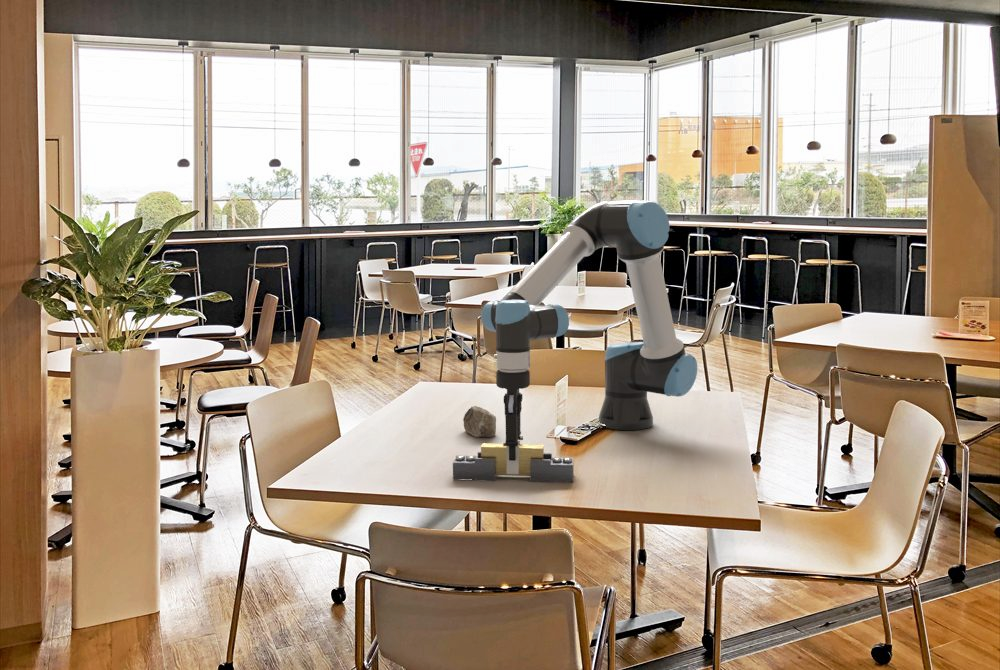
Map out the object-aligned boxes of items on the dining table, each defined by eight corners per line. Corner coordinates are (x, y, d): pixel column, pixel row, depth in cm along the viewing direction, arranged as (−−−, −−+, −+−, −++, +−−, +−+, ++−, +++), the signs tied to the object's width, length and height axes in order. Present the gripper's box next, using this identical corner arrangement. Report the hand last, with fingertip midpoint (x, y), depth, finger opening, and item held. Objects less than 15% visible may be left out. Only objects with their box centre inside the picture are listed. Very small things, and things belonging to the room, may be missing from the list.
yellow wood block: (543, 472, 204) (543, 445, 203) (542, 476, 201) (543, 448, 200) (482, 470, 205) (482, 443, 204) (481, 474, 202) (481, 446, 201)
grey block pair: (573, 474, 205) (573, 453, 204) (572, 482, 199) (573, 460, 198) (457, 472, 207) (456, 451, 207) (453, 479, 202) (452, 458, 201)
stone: (481, 439, 236) (481, 413, 235) (457, 430, 246) (458, 405, 245) (503, 437, 239) (504, 411, 239) (480, 428, 250) (480, 403, 249)
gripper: (500, 363, 208) (500, 460, 211) (492, 375, 192) (493, 481, 195) (532, 363, 207) (532, 461, 210) (527, 376, 191) (527, 482, 195)
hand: (513, 470), depth 203 cm, fingers closed on yellow wood block, 3 cm apart
